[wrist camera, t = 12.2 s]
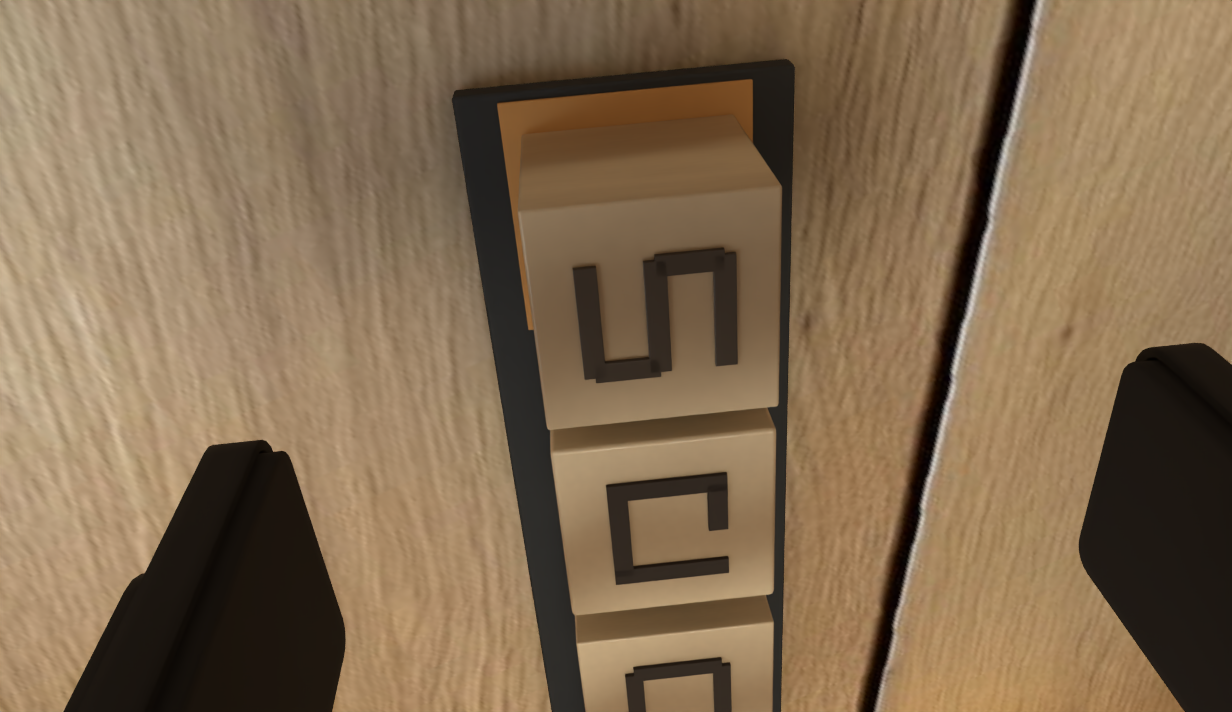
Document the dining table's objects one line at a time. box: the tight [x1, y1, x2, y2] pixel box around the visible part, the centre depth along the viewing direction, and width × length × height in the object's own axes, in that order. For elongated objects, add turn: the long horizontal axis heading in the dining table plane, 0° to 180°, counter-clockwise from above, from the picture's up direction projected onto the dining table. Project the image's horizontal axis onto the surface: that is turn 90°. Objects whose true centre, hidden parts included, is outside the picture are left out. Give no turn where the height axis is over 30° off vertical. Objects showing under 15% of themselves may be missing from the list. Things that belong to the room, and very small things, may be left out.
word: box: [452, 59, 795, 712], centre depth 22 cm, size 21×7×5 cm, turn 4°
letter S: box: [518, 114, 782, 430], centre depth 18 cm, size 4×4×4 cm
